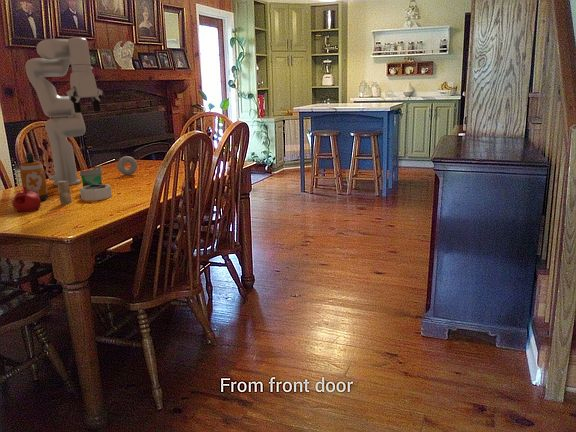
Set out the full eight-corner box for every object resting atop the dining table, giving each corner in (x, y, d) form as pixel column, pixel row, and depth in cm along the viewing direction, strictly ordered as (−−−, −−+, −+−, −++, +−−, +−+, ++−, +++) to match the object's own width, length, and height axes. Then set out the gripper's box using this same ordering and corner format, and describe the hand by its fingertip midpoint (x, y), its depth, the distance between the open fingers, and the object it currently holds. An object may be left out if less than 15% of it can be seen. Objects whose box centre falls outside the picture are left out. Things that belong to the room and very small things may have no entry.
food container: (95, 193, 216) (92, 171, 214) (82, 193, 217) (79, 171, 215) (110, 187, 228) (107, 166, 225) (98, 187, 229) (95, 166, 226)
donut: (138, 173, 261) (136, 155, 259) (138, 174, 258) (136, 155, 256) (118, 175, 258) (116, 156, 256) (118, 176, 255) (116, 157, 252)
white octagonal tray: (77, 200, 204) (75, 190, 202) (90, 194, 215) (89, 184, 213) (103, 200, 202) (101, 189, 201) (115, 194, 213) (114, 184, 212)
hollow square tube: (86, 197, 206) (85, 187, 205) (93, 194, 211) (92, 184, 210) (99, 197, 205) (98, 187, 204) (105, 194, 211) (104, 184, 210)
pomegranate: (35, 205, 198) (31, 182, 196) (46, 208, 192) (42, 185, 189) (9, 210, 191) (4, 187, 188) (20, 214, 185) (16, 190, 182)
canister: (25, 203, 202) (16, 154, 196) (25, 198, 211) (16, 151, 206) (49, 200, 206) (41, 152, 200) (48, 195, 215) (40, 149, 210)
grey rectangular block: (60, 204, 198) (57, 182, 196) (64, 202, 201) (61, 180, 199) (67, 204, 198) (64, 182, 196) (71, 202, 201) (68, 180, 199)
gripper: (92, 70, 213) (98, 110, 217) (57, 69, 198) (64, 113, 202) (104, 69, 209) (110, 110, 213) (69, 68, 194) (76, 113, 199)
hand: (87, 111), depth 208 cm, fingers open, 9 cm apart
